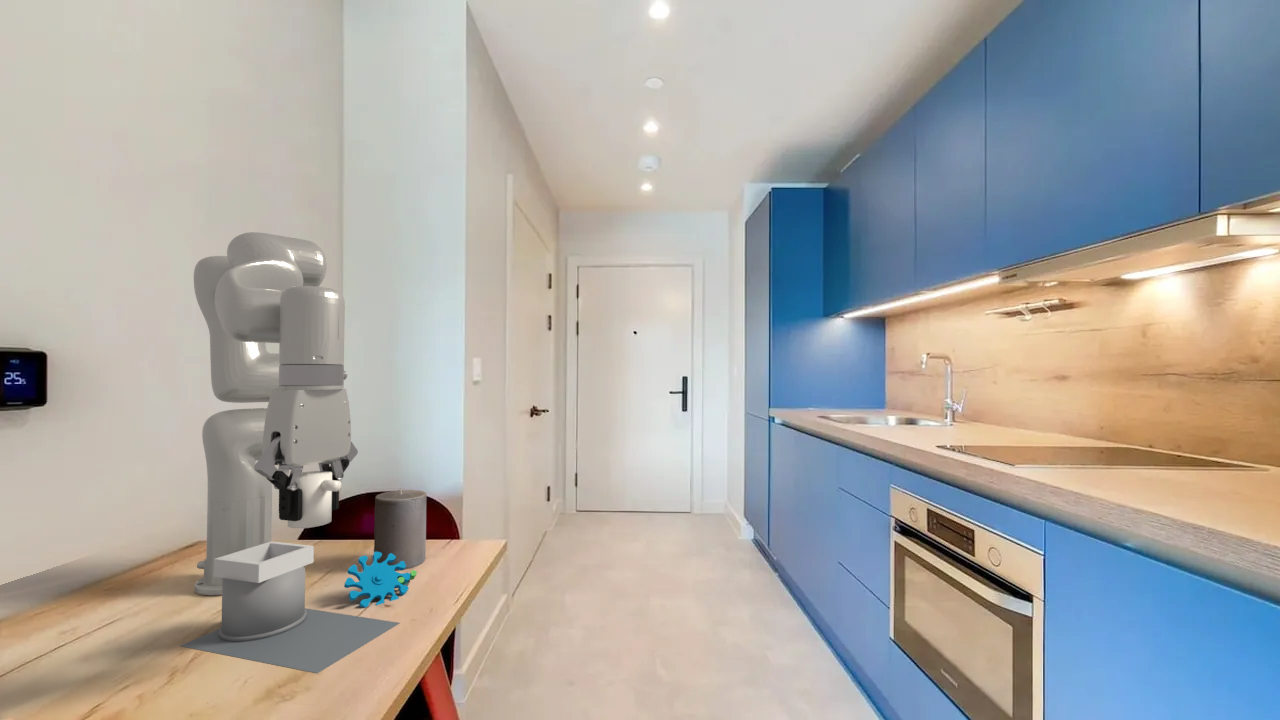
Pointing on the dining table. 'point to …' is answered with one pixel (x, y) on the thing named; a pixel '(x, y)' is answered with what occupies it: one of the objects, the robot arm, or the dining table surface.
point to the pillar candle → (401, 526)
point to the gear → (378, 579)
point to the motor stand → (280, 613)
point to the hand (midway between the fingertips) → (309, 513)
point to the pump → (316, 499)
